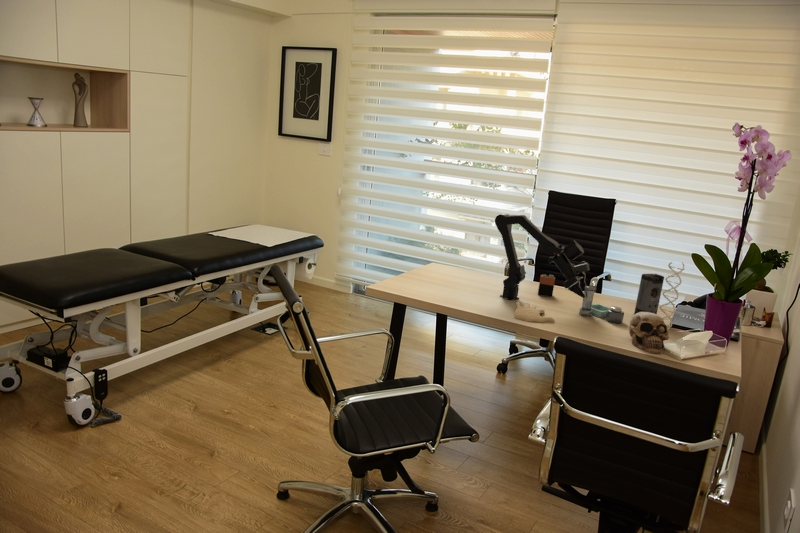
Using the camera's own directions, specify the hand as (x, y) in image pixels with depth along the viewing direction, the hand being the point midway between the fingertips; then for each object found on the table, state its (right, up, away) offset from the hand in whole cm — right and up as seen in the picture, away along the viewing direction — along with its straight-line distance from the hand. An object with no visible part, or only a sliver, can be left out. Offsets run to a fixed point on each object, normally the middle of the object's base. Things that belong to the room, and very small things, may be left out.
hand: (586, 295), depth 267 cm
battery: (-11, -1, +29) cm, 31 cm away
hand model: (-25, -9, -8) cm, 27 cm away
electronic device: (+27, -11, +5) cm, 30 cm away
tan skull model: (+13, -18, -31) cm, 38 cm away
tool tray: (+7, -8, +6) cm, 13 cm away
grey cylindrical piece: (0, -9, +2) cm, 9 cm away
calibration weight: (+11, -11, -4) cm, 16 cm away
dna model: (+27, -15, -13) cm, 34 cm away
